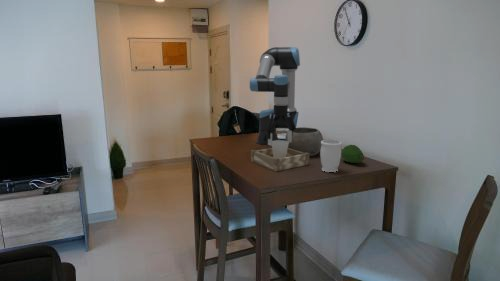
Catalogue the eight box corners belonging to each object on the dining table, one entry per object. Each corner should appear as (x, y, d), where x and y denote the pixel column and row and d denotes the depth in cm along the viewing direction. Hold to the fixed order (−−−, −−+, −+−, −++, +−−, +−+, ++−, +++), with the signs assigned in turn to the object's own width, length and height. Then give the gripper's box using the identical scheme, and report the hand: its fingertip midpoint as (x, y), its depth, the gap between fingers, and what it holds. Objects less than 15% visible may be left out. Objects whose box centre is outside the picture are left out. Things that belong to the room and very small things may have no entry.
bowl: (280, 150, 220) (280, 127, 217) (313, 148, 225) (314, 125, 222) (291, 159, 198) (292, 133, 195) (328, 157, 203) (330, 132, 200)
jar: (317, 167, 182) (318, 139, 178) (336, 167, 182) (337, 139, 179) (322, 173, 171) (324, 144, 168) (343, 173, 172) (344, 144, 169)
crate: (282, 155, 206) (282, 145, 204) (309, 164, 187) (309, 153, 186) (250, 161, 193) (250, 150, 192) (275, 171, 175) (276, 159, 173)
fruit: (368, 166, 185) (369, 148, 183) (351, 167, 182) (353, 149, 180) (352, 159, 199) (354, 142, 197) (337, 160, 197) (338, 143, 194)
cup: (287, 164, 184) (288, 144, 182) (269, 163, 186) (269, 143, 184) (289, 159, 194) (289, 140, 192) (271, 158, 196) (272, 139, 193)
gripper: (293, 102, 193) (292, 139, 198) (257, 105, 180) (257, 145, 184) (303, 103, 187) (301, 141, 192) (266, 106, 174) (265, 147, 178)
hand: (279, 143), depth 188 cm, fingers open, 13 cm apart
